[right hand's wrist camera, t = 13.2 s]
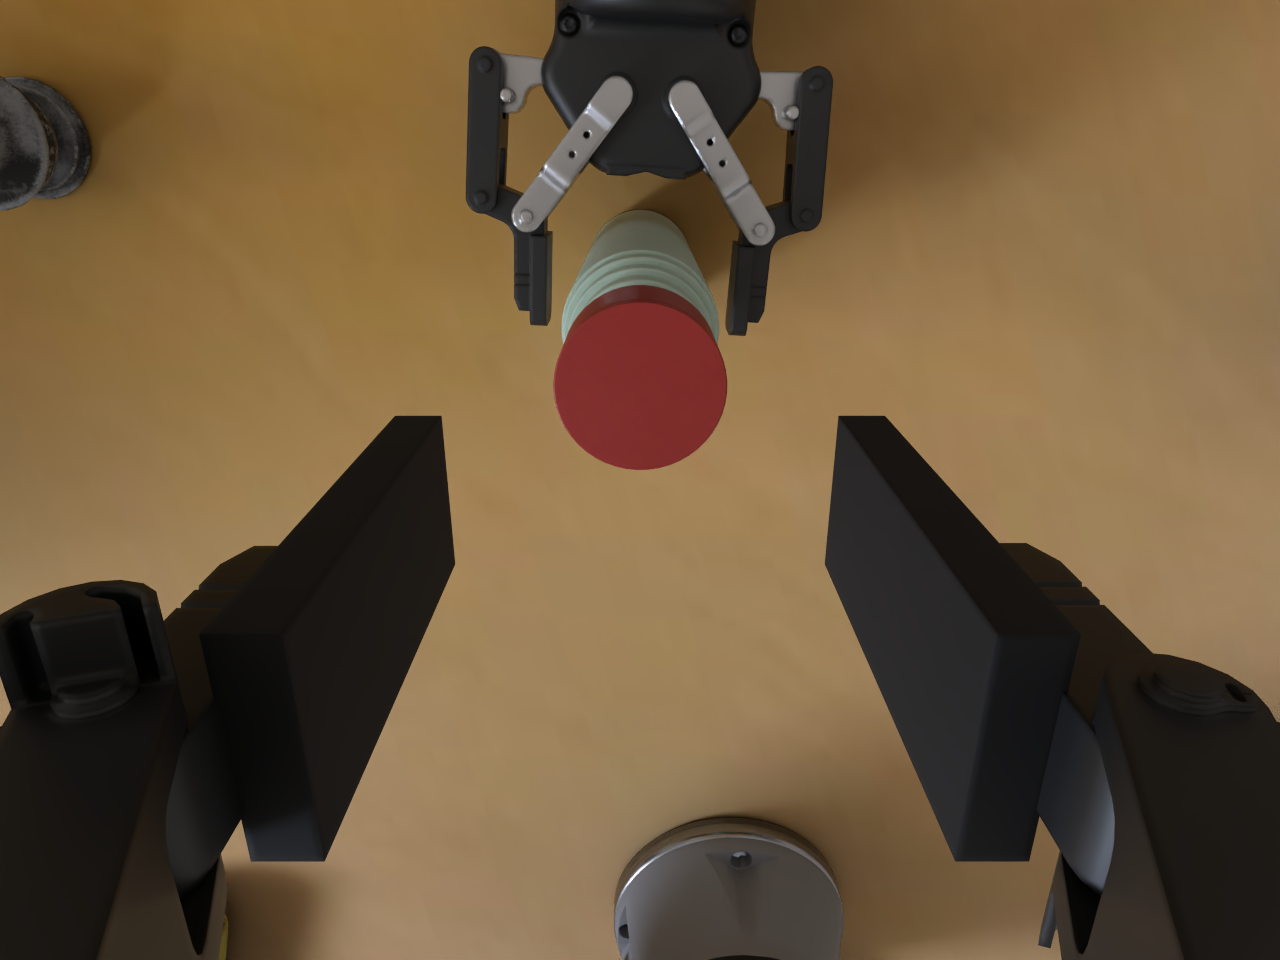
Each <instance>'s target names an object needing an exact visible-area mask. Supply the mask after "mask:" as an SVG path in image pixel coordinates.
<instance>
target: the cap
mask: <svg viewBox="0 0 1280 960" xmlns="http://www.w3.org/2000/svg"><path fill="white" fill-rule="evenodd" d="M726 396H727V376H726V369H725V365H724V362H723V358H722V356H721V353H720V351H719V348H718V345H717V343H716V340H715V337H714V335H713V333H712V330H711V328H710V326H709V324H708V323H707V321H706V319H705V318H704V317H703V315H702V314H701V313H700V312H699V310H698V309H697V308H696V307H694V306H693V305H692V304H691V303H690V302H689V301H687V300H686V299H685V298H683V297H681V296H680V295H678V294H676V293H674V292H672V291H669V290H667V289H664V288H660V287H656V286H649V285H631V286H625V287H621V288H617V289H614V290H611V291H609V292H607V293H605V294H603V295H601V296H599V297H598V298H596V299H595V300H593V301H592V302H591V303H590V304H588V305H587V306H586V307H585V308H584V309H583V310H582V311H581V312H580V314H579V315H578V316H577V318H576V319H575V321H574V322H573V324H572V326H571V328H570V330H569V331H568V334H567V337H566V339H565V342H564V345H563V347H562V350H561V353H560V355H559V358H558V361H557V364H556V369H555V373H554V398H555V403H556V408H557V410H558V413H559V416H560V419H561V421H562V423H563V425H564V427H565V428H566V430H567V431H568V433H569V434H570V436H571V437H572V438H573V439H574V440H575V441H576V443H577V444H578V445H579V446H580V447H582V448H583V449H584V450H585V451H586V452H588V453H589V454H591V455H592V456H594V457H595V458H597V459H599V460H601V461H603V462H605V463H607V464H610V465H613V466H616V467H621V468H625V469H634V470H648V469H655V468H661V467H664V466H668V465H671V464H673V463H676V462H678V461H680V460H682V459H684V458H685V457H687V456H689V455H690V454H692V453H693V452H694V451H696V450H697V449H698V448H699V447H700V446H701V445H702V444H703V443H704V442H705V441H706V440H707V439H708V438H709V436H710V435H711V434H712V433H713V431H714V429H715V428H716V426H717V424H718V422H719V420H720V418H721V416H722V413H723V410H724V406H725V402H726Z"/></svg>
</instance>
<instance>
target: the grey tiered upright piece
mask: <svg viewBox="0 0 1280 960" xmlns="http://www.w3.org/2000/svg"><path fill="white" fill-rule="evenodd" d="M90 154H91V146H90V142H89V138H88V134H87V130H86V128H85V126H84V124H83V122H82V120H81V118H80V116H79V114H78V113H77V112H76V110H75V109H74V108H73V106H72V105H71V104H70V103H69V101H68V100H66V99H65V98H64V97H63V96H62V95H61V94H59V93H58V92H57V91H56V90H55V89H53V88H51V87H49V86H47V85H46V84H44V83H42V82H40V81H37V80H33V79H29V78H25V77H6V78H3V77H1V76H0V210H10V209H13V208H16V207H19V206H22V205H24V204H25V203H27V202H28V201H29V200H31V199H32V198H33V197H35V198H38V199H54V198H58V197H61V196H64V195H68V194H69V193H71V192H72V191H73V190H75V189H76V188H77V187H79V186H80V184H81V183H82V181H83V180H84V178H85V177H86V175H87V172H88V168H89V165H90Z"/></svg>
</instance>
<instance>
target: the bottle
mask: <svg viewBox="0 0 1280 960" xmlns="http://www.w3.org/2000/svg"><path fill="white" fill-rule="evenodd" d="M631 285H649V286H656V287H660V288H664V289H667V290H669V291H672V292H674V293H676V294H678V295H680V296H681V297H683V298H685V299H686V300H687V301H689V302H690V303H691V304H692V305H693V306H694V307H696V308H697V309H698V310H699V312H700V313H701V314H702V315H703V317H704V318H705V319H706V321H707V323H708V324H709V326H710V328H711V330H712V333H713V335H714V337H715V340H716V343H717V344H718V337H719V319H718V312H717V308H716V305H715V302H714V299H713V297H712V294H711V292H710V290H709V288H708V286H707V284H706V282H705V279H704V277H703V275H702V273H701V271H700V269H699V267H698V265H697V263H696V260H695V258H694V256H693V254H692V252H691V250H690V248H689V246H688V244H687V241H686V239H685V237H684V236H683V234H682V232H681V231H680V230H679V228H678V227H677V226H676V225H675V224H674V223H673V222H672V221H671V220H669V219H668V218H667V217H665V216H663V215H661V214H659V213H656V212H653V211H649V210H632V211H627V212H624V213H622V214H619V215H617V216H615V217H614V218H612V219H611V220H610V221H608V222H607V223H606V224H605V225H604V226H603V227H602V229H601V230H600V231H599V233H598V234H597V236H596V238H595V240H594V242H593V244H592V247H591V249H590V251H589V253H588V255H587V257H586V259H585V261H584V264H583V266H582V268H581V270H580V272H579V274H578V276H577V279H576V281H575V283H574V285H573V287H572V289H571V291H570V293H569V296H568V298H567V301H566V304H565V306H564V311H563V316H562V327H561V328H562V340H563V345H564V342H565V339H566V337H567V334H568V331H569V330H570V328H571V326H572V324H573V322H574V321H575V319H576V318H577V316H578V315H579V314H580V312H581V311H582V310H583V309H584V308H585V307H586V306H587V305H588V304H590V303H591V302H592V301H593V300H595V299H596V298H598V297H599V296H601V295H603V294H605V293H607V292H609V291H611V290H614V289H617V288H621V287H625V286H631Z"/></svg>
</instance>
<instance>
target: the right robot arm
mask: <svg viewBox="0 0 1280 960" xmlns="http://www.w3.org/2000/svg"><path fill="white" fill-rule="evenodd" d="M454 566H455V557H454V546H453V536H452V525H451V514H450V503H449V493H448V482H447V471H446V460H445V450H444V439H443V428H442V417H441V416H395V417H394V418H393V419H392V420H391V421H390V422H389V423H388V424H387V425H386V427H385V428H384V429H383V430H382V431H381V432H380V433H379V434H378V436H377V437H376V438H375V439H374V440H373V441H372V442H371V443H370V444H369V446H368V447H367V448H366V449H365V450H364V451H363V452H362V453H361V454H360V456H359V457H358V458H357V459H356V460H355V461H354V462H353V463H352V464H351V466H350V467H349V468H348V469H347V470H346V471H345V472H344V473H343V474H342V476H341V477H340V478H339V479H338V480H337V481H336V482H335V483H334V484H333V486H332V487H331V488H330V489H329V490H328V491H327V492H326V493H325V495H324V496H323V497H322V498H321V499H320V500H319V501H318V502H317V503H316V505H315V506H314V507H313V508H312V509H311V510H310V511H309V512H308V513H307V515H306V516H305V517H304V518H303V519H302V520H301V521H300V522H299V523H298V525H297V526H296V527H295V528H294V529H293V530H292V531H291V532H290V533H289V535H288V536H287V537H286V538H285V539H284V540H283V541H282V542H281V543H280V545H279V546H253V547H251V548H249V549H248V550H246V551H244V552H242V553H240V554H238V555H237V556H235V557H233V558H231V559H229V560H227V561H225V562H224V563H222V564H220V565H219V566H218V567H217V568H216V569H215V570H214V571H213V572H212V573H211V574H210V575H209V576H208V577H207V578H206V579H205V580H204V581H203V582H202V583H201V584H200V585H199V590H194V591H193V592H192V593H191V594H190V595H189V596H188V597H187V598H186V599H185V600H184V601H183V602H182V603H181V608H176V609H175V610H174V611H173V612H172V613H171V614H170V615H169V616H168V617H167V618H166V619H165V620H164V621H163V617H162V613H161V609H160V605H159V601H158V597H157V593H156V591H154V590H153V589H151V588H150V587H148V586H147V585H145V584H144V583H138V582H131V581H124V580H113V581H97V582H89V583H84V584H79V585H74V586H69V587H65V588H60V589H57V590H54V591H51V592H48V593H46V594H43V595H40V596H37V597H34V598H31V599H29V600H27V601H25V602H23V603H21V604H19V605H17V606H15V607H13V608H12V609H10V610H8V611H6V612H4V613H2V614H1V615H0V677H1V680H2V683H3V686H4V689H5V692H6V694H7V697H8V700H9V703H10V706H11V711H10V713H9V715H8V716H7V718H6V720H5V722H4V723H3V725H2V726H1V727H0V960H219V952H220V945H221V938H222V930H223V923H224V916H225V908H226V901H227V894H228V886H227V880H226V873H225V869H224V865H223V861H222V857H221V852H222V850H223V849H224V847H225V845H226V844H227V842H228V840H229V839H230V837H231V835H232V833H233V832H234V830H235V828H236V827H237V825H238V823H239V822H240V820H242V824H243V828H244V833H245V837H246V842H247V846H248V850H249V855H250V859H251V861H325V859H326V857H327V855H328V852H329V850H330V848H331V846H332V843H333V841H334V839H335V836H336V834H337V832H338V830H339V827H340V825H341V823H342V820H343V818H344V816H345V814H346V811H347V809H348V807H349V805H350V802H351V800H352V798H353V795H354V793H355V791H356V789H357V786H358V784H359V782H360V780H361V777H362V775H363V773H364V770H365V768H366V766H367V764H368V761H369V759H370V757H371V754H372V752H373V750H374V748H375V745H376V743H377V741H378V739H379V736H380V734H381V732H382V729H383V727H384V725H385V723H386V720H387V718H388V716H389V713H390V711H391V709H392V707H393V704H394V702H395V700H396V698H397V695H398V693H399V691H400V688H401V686H402V684H403V682H404V679H405V677H406V675H407V673H408V670H409V668H410V666H411V663H412V661H413V659H414V657H415V654H416V652H417V650H418V647H419V645H420V643H421V641H422V638H423V636H424V634H425V632H426V629H427V627H428V625H429V622H430V620H431V618H432V616H433V613H434V611H435V609H436V607H437V604H438V602H439V600H440V597H441V595H442V593H443V591H444V588H445V586H446V584H447V581H448V579H449V577H450V575H451V572H452V570H453V568H454ZM825 566H826V568H827V570H828V572H829V575H830V577H831V579H832V581H833V584H834V586H835V588H836V591H837V593H838V595H839V597H840V600H841V602H842V604H843V607H844V609H845V611H846V613H847V616H848V618H849V620H850V622H851V625H852V627H853V629H854V632H855V634H856V636H857V638H858V641H859V643H860V645H861V647H862V650H863V652H864V654H865V657H866V659H867V661H868V663H869V666H870V668H871V670H872V673H873V675H874V677H875V679H876V682H877V684H878V686H879V688H880V691H881V693H882V695H883V698H884V700H885V702H886V704H887V707H888V709H889V711H890V714H891V716H892V718H893V720H894V723H895V725H896V727H897V729H898V732H899V734H900V736H901V739H902V741H903V743H904V745H905V748H906V750H907V752H908V754H909V757H910V759H911V761H912V764H913V766H914V768H915V770H916V773H917V775H918V777H919V780H920V782H921V784H922V786H923V789H924V791H925V793H926V795H927V798H928V800H929V802H930V805H931V807H932V809H933V811H934V814H935V816H936V818H937V820H938V823H939V825H940V827H941V830H942V832H943V834H944V836H945V839H946V841H947V843H948V846H949V848H950V850H951V852H952V855H953V857H954V859H955V861H1029V859H1030V855H1031V850H1032V846H1033V842H1034V837H1035V833H1036V828H1037V824H1038V820H1039V816H1040V817H1041V819H1042V821H1043V822H1044V824H1045V826H1046V827H1047V829H1048V831H1049V832H1050V834H1051V836H1052V837H1053V839H1054V841H1055V842H1056V844H1057V846H1058V847H1059V849H1060V853H1059V857H1058V861H1057V865H1056V869H1055V873H1054V877H1053V881H1052V885H1051V889H1050V893H1049V897H1048V901H1047V905H1046V909H1045V913H1044V918H1043V922H1042V926H1041V931H1040V937H1039V944H1038V945H1040V946H1044V947H1047V948H1051V944H1052V940H1053V936H1054V932H1055V930H1056V929H1058V935H1059V943H1060V950H1061V957H1062V960H1280V723H1279V722H1276V720H1275V718H1274V716H1273V715H1272V713H1271V711H1270V709H1269V708H1268V707H1267V706H1266V704H1265V703H1264V702H1263V701H1262V700H1261V699H1260V698H1259V697H1258V696H1257V694H1256V693H1255V692H1254V691H1253V690H1251V689H1250V688H1248V687H1247V686H1245V685H1244V684H1242V683H1240V682H1239V681H1237V680H1236V679H1234V678H1233V677H1231V676H1230V675H1228V674H1225V673H1223V672H1221V671H1218V670H1216V669H1213V668H1211V667H1209V666H1206V665H1204V664H1201V663H1199V662H1195V661H1191V660H1187V659H1183V658H1179V657H1175V656H1171V655H1165V654H1153V653H1152V652H1151V651H1150V650H1149V649H1148V648H1147V647H1146V646H1145V645H1144V644H1143V643H1142V642H1141V641H1140V640H1139V639H1138V638H1137V637H1136V636H1135V635H1134V634H1133V633H1132V632H1131V631H1130V630H1129V629H1128V628H1127V627H1126V626H1125V625H1124V624H1123V623H1122V622H1121V621H1120V620H1119V619H1118V618H1117V617H1116V616H1115V615H1114V614H1113V613H1112V612H1111V611H1110V610H1109V609H1108V608H1107V607H1106V606H1105V605H1100V603H1099V602H1100V600H1099V599H1098V598H1097V597H1096V596H1095V595H1094V594H1093V593H1092V592H1091V591H1090V590H1089V589H1088V588H1087V587H1082V582H1081V581H1080V580H1079V579H1078V578H1077V577H1076V576H1075V575H1074V574H1073V573H1072V572H1071V571H1070V570H1069V569H1068V568H1067V567H1066V566H1065V565H1064V564H1063V563H1062V562H1061V561H1059V560H1057V559H1055V558H1053V557H1051V556H1049V555H1048V554H1046V553H1044V552H1042V551H1040V550H1038V549H1036V548H1034V547H1033V546H1031V545H1029V544H1027V543H999V542H998V541H997V540H996V539H995V538H994V537H993V536H992V535H991V533H990V532H989V531H988V530H987V529H986V528H985V527H984V526H983V525H982V523H981V522H980V521H979V520H978V519H977V518H976V517H975V516H974V515H973V513H972V512H971V511H970V510H969V509H968V508H967V507H966V506H965V505H964V503H963V502H962V501H961V500H960V499H959V498H958V497H957V496H956V495H955V493H954V492H953V491H952V490H951V489H950V488H949V487H948V486H947V485H946V483H945V482H944V481H943V480H942V479H941V478H940V477H939V476H938V474H937V473H936V472H935V471H934V470H933V469H932V468H931V467H930V466H929V464H928V463H927V462H926V461H925V460H924V459H923V458H922V457H921V456H920V454H919V453H918V452H917V451H916V450H915V449H914V448H913V447H912V446H911V444H910V443H909V442H908V441H907V440H906V439H905V438H904V437H903V436H902V434H901V433H900V432H899V431H898V430H897V429H896V428H895V427H894V426H893V424H892V423H891V422H890V421H889V420H888V419H887V418H886V417H885V416H839V417H838V428H837V439H836V449H835V460H834V471H833V482H832V493H831V503H830V514H829V525H828V536H827V546H826V557H825ZM614 931H615V937H616V941H617V945H618V948H619V951H620V955H621V958H622V960H839V957H840V942H841V938H842V933H843V907H842V902H841V898H840V895H839V891H838V887H837V883H836V880H835V876H834V874H833V872H832V869H831V868H830V866H829V864H828V862H827V861H826V860H825V858H824V857H823V855H822V854H821V853H820V852H819V851H818V850H817V849H816V848H815V847H814V846H813V845H811V844H810V843H809V842H808V841H806V840H805V839H804V838H802V837H801V836H799V835H797V834H795V833H794V832H792V831H790V830H787V829H785V828H783V827H780V826H777V825H774V824H771V823H768V822H764V821H759V820H753V819H745V818H715V819H708V820H702V821H697V822H693V823H690V824H686V825H683V826H680V827H678V828H675V829H673V830H670V831H668V832H666V833H664V834H662V835H661V836H659V837H657V838H656V839H654V840H653V841H651V842H650V843H648V844H647V845H646V846H644V847H643V848H642V849H641V850H640V851H639V852H638V853H637V854H636V855H635V856H634V857H633V858H632V859H631V861H630V862H629V863H628V865H627V866H626V868H625V869H624V871H623V873H622V875H621V877H620V879H619V882H618V885H617V889H616V894H615V908H614ZM619 960H620V959H619Z"/></svg>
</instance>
